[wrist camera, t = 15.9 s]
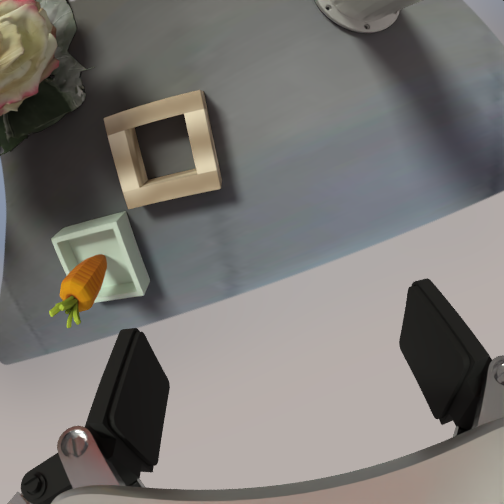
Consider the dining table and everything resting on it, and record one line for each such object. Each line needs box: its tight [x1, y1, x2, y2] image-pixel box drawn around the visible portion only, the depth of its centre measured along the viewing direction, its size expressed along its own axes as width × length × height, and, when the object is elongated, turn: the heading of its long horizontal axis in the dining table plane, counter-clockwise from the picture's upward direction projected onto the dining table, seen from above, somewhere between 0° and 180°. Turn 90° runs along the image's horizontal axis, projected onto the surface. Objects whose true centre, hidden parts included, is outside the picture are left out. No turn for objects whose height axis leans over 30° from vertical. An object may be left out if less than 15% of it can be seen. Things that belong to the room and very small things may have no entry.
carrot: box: [49, 254, 107, 328], centre depth 36 cm, size 5×5×15 cm
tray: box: [51, 211, 150, 303], centre depth 42 cm, size 12×12×4 cm
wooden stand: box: [103, 90, 222, 209], centre depth 35 cm, size 12×12×4 cm
